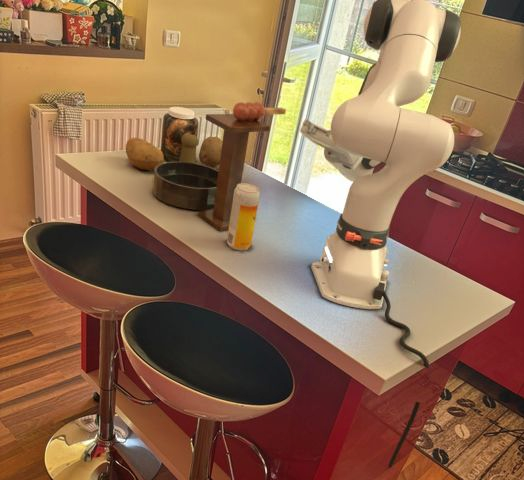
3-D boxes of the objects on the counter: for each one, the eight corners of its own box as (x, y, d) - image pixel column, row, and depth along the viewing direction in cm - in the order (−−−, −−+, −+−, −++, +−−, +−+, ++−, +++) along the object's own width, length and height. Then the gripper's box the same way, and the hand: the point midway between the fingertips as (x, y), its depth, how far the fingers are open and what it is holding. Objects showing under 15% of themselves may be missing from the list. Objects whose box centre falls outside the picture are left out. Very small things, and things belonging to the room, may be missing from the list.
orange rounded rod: (277, 116, 141) (280, 100, 139) (287, 121, 139) (290, 105, 136) (228, 117, 131) (230, 100, 129) (238, 123, 129) (241, 105, 127)
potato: (145, 179, 160) (147, 151, 156) (117, 162, 167) (117, 136, 162) (171, 174, 167) (173, 148, 162) (143, 159, 173) (144, 133, 169)
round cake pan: (218, 217, 147) (221, 194, 144) (145, 202, 147) (146, 178, 143) (228, 191, 164) (231, 170, 160) (162, 178, 163) (163, 156, 159)
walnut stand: (229, 210, 153) (244, 113, 137) (252, 225, 147) (270, 126, 132) (194, 216, 145) (205, 114, 130) (216, 231, 140) (231, 127, 125)
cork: (195, 175, 170) (199, 139, 164) (175, 171, 169) (179, 135, 163) (197, 169, 175) (201, 134, 168) (178, 165, 174) (182, 130, 168)
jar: (153, 153, 180) (155, 105, 171) (182, 151, 187) (186, 104, 178) (172, 165, 173) (176, 116, 165) (202, 163, 180) (207, 116, 172)
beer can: (255, 248, 136) (266, 190, 127) (238, 253, 132) (248, 194, 123) (238, 238, 139) (247, 181, 130) (221, 243, 135) (229, 184, 126)
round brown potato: (230, 169, 180) (235, 138, 175) (217, 175, 174) (221, 143, 168) (207, 161, 183) (210, 130, 177) (193, 167, 176) (196, 135, 170)
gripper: (321, 129, 166) (297, 105, 155) (371, 152, 155) (350, 128, 143) (309, 148, 167) (286, 125, 156) (358, 172, 156) (336, 150, 145)
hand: (317, 127), depth 150 cm, fingers open, 8 cm apart
